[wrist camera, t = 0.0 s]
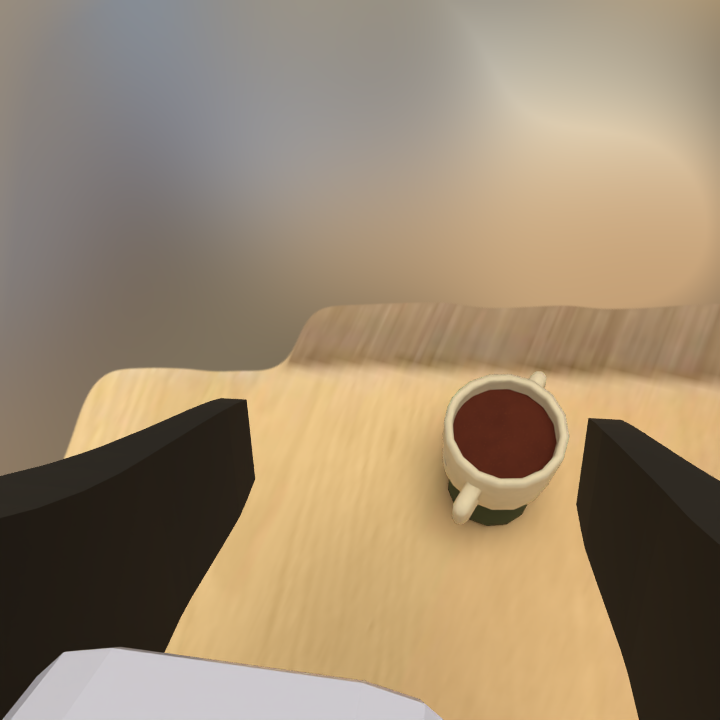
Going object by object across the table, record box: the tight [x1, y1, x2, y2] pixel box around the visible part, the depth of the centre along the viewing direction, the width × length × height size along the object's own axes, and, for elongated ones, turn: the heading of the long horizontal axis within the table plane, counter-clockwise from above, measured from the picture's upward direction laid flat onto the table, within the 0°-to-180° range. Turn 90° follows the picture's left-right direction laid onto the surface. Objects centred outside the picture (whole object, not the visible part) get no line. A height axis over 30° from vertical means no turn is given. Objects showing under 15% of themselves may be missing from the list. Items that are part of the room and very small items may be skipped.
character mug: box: [443, 371, 569, 526], centre depth 37 cm, size 11×7×13 cm, turn 145°
